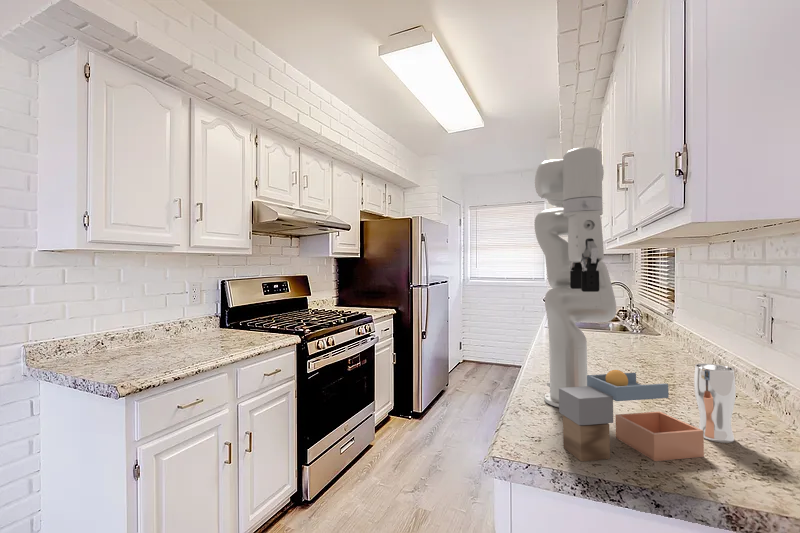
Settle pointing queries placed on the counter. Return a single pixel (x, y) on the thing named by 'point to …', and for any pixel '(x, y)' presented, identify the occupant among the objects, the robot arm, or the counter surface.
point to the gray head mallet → (603, 398)
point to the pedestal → (586, 440)
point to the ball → (617, 378)
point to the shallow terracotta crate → (659, 436)
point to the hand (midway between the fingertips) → (584, 289)
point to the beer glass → (715, 400)
